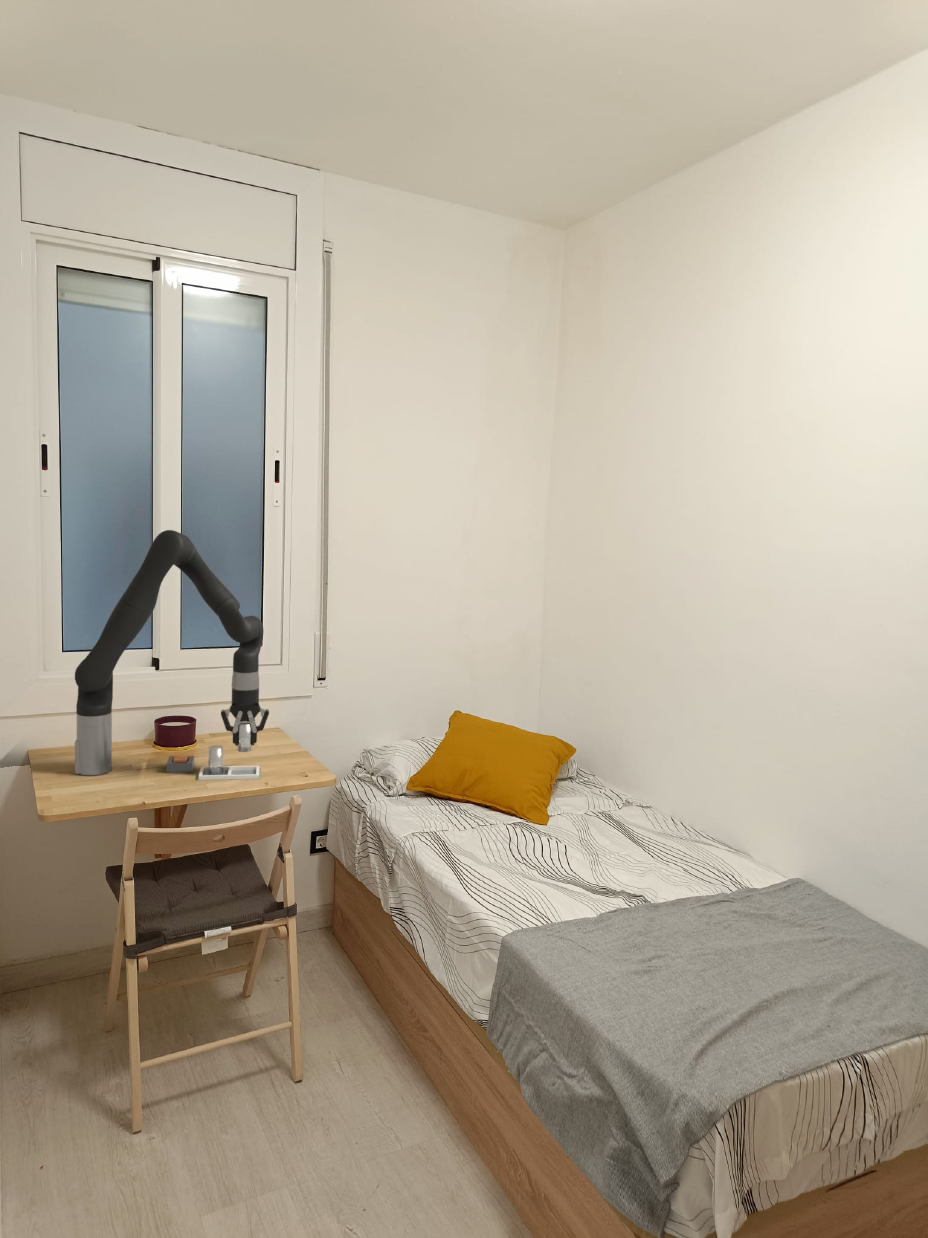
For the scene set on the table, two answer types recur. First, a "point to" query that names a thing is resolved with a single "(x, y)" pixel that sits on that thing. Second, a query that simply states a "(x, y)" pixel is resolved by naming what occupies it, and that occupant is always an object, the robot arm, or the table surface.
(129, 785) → the table surface
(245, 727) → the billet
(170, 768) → the button housing
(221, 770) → the cylinder
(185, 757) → the button
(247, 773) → the white divided tray
